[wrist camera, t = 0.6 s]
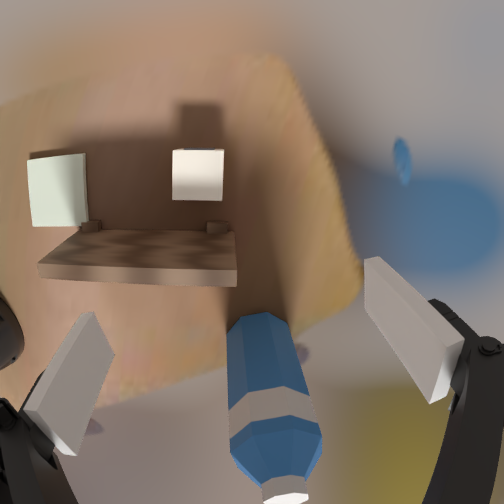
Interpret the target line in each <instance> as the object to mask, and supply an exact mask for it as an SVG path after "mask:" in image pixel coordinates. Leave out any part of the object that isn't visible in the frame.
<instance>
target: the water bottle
mask: <svg viewBox="0 0 504 504" xmlns="http://www.w3.org/2000/svg"><path fill="white" fill-rule="evenodd" d="M227 374H228V407H229V434H230V453H231V455H232V457H233V459H234V461H235V463H236V465H237V467H238V468H239V469H240V470H241V471H242V472H243V473H244V474H245V475H247V476H248V477H249V478H250V479H251V480H252V481H253V482H255V483H256V484H257V485H258V486H259V487H260V488H262V496H263V502H264V504H300V503H302V502H304V501H306V500H308V492H307V487H306V483H305V482H306V480H307V478H308V477H309V475H310V473H311V472H312V470H313V468H314V466H315V465H316V463H317V461H318V459H319V457H320V456H321V454H322V435H321V431H320V428H319V425H318V421H317V418H316V415H315V411H314V408H313V405H312V402H311V398H310V395H309V392H308V388H307V385H306V382H305V379H304V376H303V372H302V369H301V366H300V363H299V359H298V356H297V353H296V350H295V347H294V343H293V340H292V337H291V334H290V331H289V327H288V324H287V323H286V322H284V321H283V320H281V319H279V318H277V317H275V316H273V315H272V314H270V313H268V312H263V313H258V314H253V315H247V316H242V317H240V318H239V320H238V321H237V322H236V323H235V324H234V326H233V327H232V328H231V329H230V331H229V332H228V333H227Z"/></svg>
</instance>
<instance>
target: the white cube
mask: <svg viewBox="0 0 504 504" xmlns="http://www.w3.org/2000/svg"><path fill="white" fill-rule="evenodd" d="M223 168H224V149H215V148H184V149H176V150H173V166H172V200H211V201H222V194H223Z"/></svg>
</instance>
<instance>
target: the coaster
mask: <svg viewBox="0 0 504 504" xmlns="http://www.w3.org/2000/svg"><path fill="white" fill-rule="evenodd" d="M27 168H28V184H29V196H30V206H31V215H32V223H33V227H37V226H81V222H87V221H89V215H88V203H87V187H86V158H85V153H81V154H71V155H62V156H53V157H45V158H38V159H31V160H27Z"/></svg>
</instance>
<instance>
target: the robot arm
mask: <svg viewBox="0 0 504 504" xmlns="http://www.w3.org/2000/svg"><path fill="white" fill-rule="evenodd" d="M364 272H365V310H366V312H367V313H368V314H369V316H370V317H371V319H372V320H373V322H374V323H375V324H376V326H377V327H378V329H379V330H380V331H381V333H382V334H383V336H384V337H385V338H386V340H387V341H388V343H389V344H390V346H391V347H392V349H393V350H394V352H395V353H396V355H397V356H398V357H399V359H400V360H401V362H402V363H403V365H404V366H405V368H406V369H407V371H408V372H409V374H410V375H411V377H412V378H413V380H414V381H415V383H416V384H417V386H418V387H419V389H420V390H421V392H422V394H423V395H424V397H425V398H426V400H427V401H428V403H429V404H430V403H432V402H435V401H437V400H439V399H441V398H443V397H445V396H446V395H447V392H448V389H449V387H450V386H451V387H452V388H453V390H454V391H455V394H454V396H453V399H452V401H451V403H450V406H449V408H448V410H450V414H449V419H448V423H447V428H446V431H445V435H444V439H443V443H442V446H441V450H440V454H439V457H438V460H437V463H436V466H435V469H434V472H433V475H432V478H431V481H430V484H429V486H428V489H427V492H426V494H425V497H424V499H423V502H422V504H489V503H490V498H491V495H492V491H493V486H494V481H495V477H496V472H497V466H498V461H499V455H500V448H501V440H502V432H503V427H504V344H501V342H500V341H498V340H497V339H495V338H493V337H489V336H483V337H479V336H478V335H477V334H476V333H475V332H474V331H473V330H472V329H471V328H470V327H469V326H468V325H467V324H466V323H465V322H464V321H463V320H462V319H461V318H459V317H458V315H457V314H456V313H455V312H453V310H451V309H450V308H449V307H448V306H447V305H446V304H445V303H443V302H441V301H438V300H436V299H432V300H429V301H427V300H426V299H424V297H423V296H421V295H420V294H419V293H418V292H417V291H416V290H415V289H414V288H413V287H412V286H411V285H410V284H409V283H408V282H407V281H405V280H404V279H403V278H402V277H401V276H400V275H399V274H398V273H397V272H396V271H394V269H392V268H391V267H390V266H389V265H388V264H387V263H386V262H385V261H383V260H382V259H381V258H380V257H379V256H378V257H373V258H369V259H364ZM23 350H24V337H23V333H22V330H21V328H20V326H19V323H18V321H17V320H16V318H15V316H14V315H13V313H12V312H11V310H10V309H9V308H8V306H7V305H6V304H5V303H4V302H3V301H2V300H1V299H0V370H2V369H4V368H5V367H7V366H9V365H10V364H12V363H14V362H15V361H16V360H17V359H18V358H19V356H20V355H21V354H22V352H23ZM114 356H115V354H114V352H113V350H112V348H111V346H110V344H109V343H108V341H107V339H106V337H105V335H104V333H103V331H102V328H101V326H100V324H99V322H98V320H97V318H96V316H95V314H94V312H88V313H82V314H81V315H80V317H79V318H78V320H77V321H76V323H75V324H74V326H73V327H72V329H71V330H70V332H69V333H68V335H67V336H66V338H65V339H64V341H63V342H62V344H61V345H60V347H59V349H58V350H57V352H56V353H55V355H54V357H53V358H52V360H51V361H50V363H49V365H48V366H47V368H46V369H45V370H44V371H43V372H42V373H41V374H40V375H39V376H38V378H37V380H36V381H35V383H34V386H33V387H32V388H31V390H30V391H31V392H29V394H28V395H27V397H26V399H25V401H24V403H23V404H22V406H21V408H20V410H19V412H17V411H16V410H15V409H14V407H13V406H12V405H11V404H10V402H9V401H8V400H7V399H5V398H0V504H78V502H77V500H76V498H75V496H74V494H73V492H72V490H71V487H70V485H69V483H68V481H67V479H66V476H65V474H64V472H63V469H62V467H61V464H60V462H59V459H58V457H57V455H56V454H55V453H54V452H53V449H54V447H55V446H56V447H57V448H58V449H59V450H60V451H61V452H62V453H63V454H67V455H74V456H77V455H78V452H79V449H80V446H81V443H82V440H83V437H84V434H85V431H86V428H87V425H88V422H89V420H90V417H91V414H92V411H93V409H94V406H95V403H96V401H97V398H98V395H99V393H100V390H101V388H102V385H103V382H104V380H105V377H106V375H107V372H108V370H109V368H110V365H111V363H112V360H113V358H114Z"/></svg>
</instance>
